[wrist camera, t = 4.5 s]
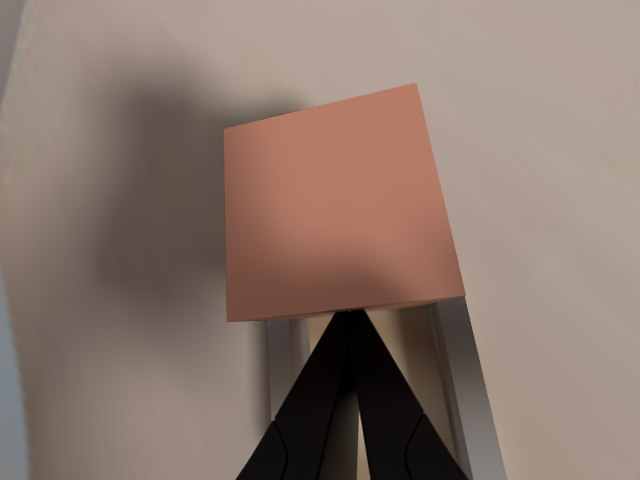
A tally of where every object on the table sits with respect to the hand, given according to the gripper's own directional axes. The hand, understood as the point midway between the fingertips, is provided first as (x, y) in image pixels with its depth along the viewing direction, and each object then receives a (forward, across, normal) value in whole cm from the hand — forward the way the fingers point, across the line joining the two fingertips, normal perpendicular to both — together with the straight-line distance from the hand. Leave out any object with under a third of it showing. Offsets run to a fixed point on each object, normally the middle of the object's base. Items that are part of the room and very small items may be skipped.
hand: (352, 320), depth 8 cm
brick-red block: (+6, 0, +2) cm, 7 cm away
